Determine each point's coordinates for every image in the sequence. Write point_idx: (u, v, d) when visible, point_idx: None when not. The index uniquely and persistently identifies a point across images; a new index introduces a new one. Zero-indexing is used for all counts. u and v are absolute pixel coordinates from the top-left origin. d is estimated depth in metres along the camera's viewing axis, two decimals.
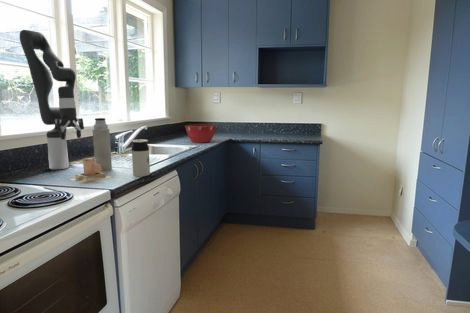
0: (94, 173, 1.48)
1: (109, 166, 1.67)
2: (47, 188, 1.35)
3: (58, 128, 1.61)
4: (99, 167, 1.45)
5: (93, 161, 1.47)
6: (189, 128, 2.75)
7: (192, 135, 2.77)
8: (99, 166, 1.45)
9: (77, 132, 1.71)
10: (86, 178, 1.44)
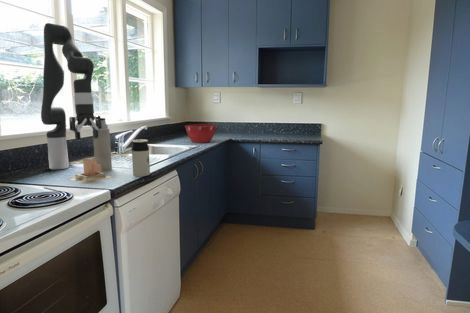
0: (94, 173, 1.48)
1: (109, 166, 1.67)
2: (47, 188, 1.35)
3: (73, 127, 1.40)
4: (99, 167, 1.45)
5: (93, 161, 1.47)
6: (189, 128, 2.75)
7: (192, 135, 2.77)
8: (99, 166, 1.45)
9: (94, 132, 1.50)
10: (86, 178, 1.44)
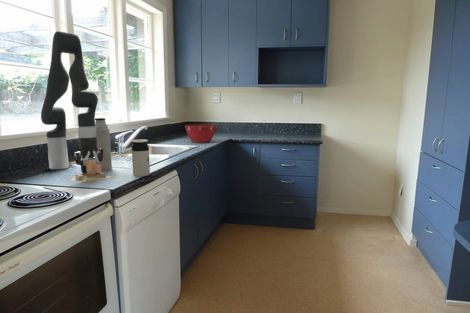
0: (94, 173, 1.48)
1: (109, 166, 1.67)
2: (47, 188, 1.35)
3: (80, 162, 1.43)
4: (99, 167, 1.45)
5: (93, 161, 1.47)
6: (189, 128, 2.75)
7: (192, 135, 2.77)
8: (99, 166, 1.45)
9: None
10: (86, 178, 1.44)
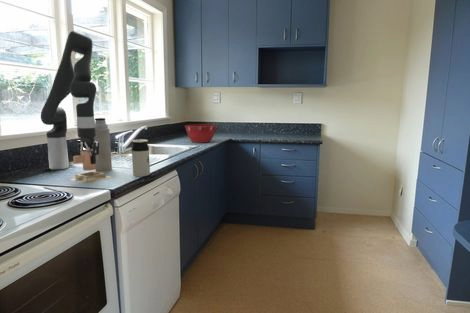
0: (83, 164, 1.46)
1: (109, 166, 1.67)
2: (47, 188, 1.35)
3: (78, 150, 1.50)
4: (74, 159, 1.42)
5: (82, 152, 1.45)
6: (189, 128, 2.75)
7: (192, 135, 2.77)
8: (74, 158, 1.42)
9: None
10: (86, 178, 1.44)
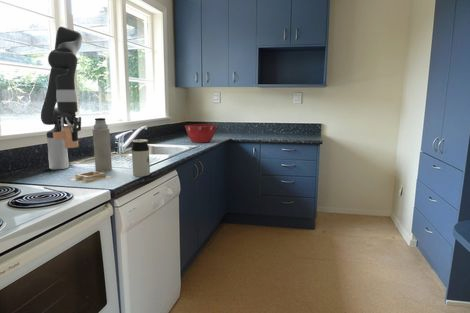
0: (65, 142, 1.36)
1: (109, 166, 1.67)
2: (47, 188, 1.35)
3: (59, 126, 1.39)
4: (54, 135, 1.32)
5: (63, 128, 1.35)
6: (189, 128, 2.75)
7: (192, 135, 2.77)
8: (54, 134, 1.32)
9: None
10: (86, 178, 1.44)
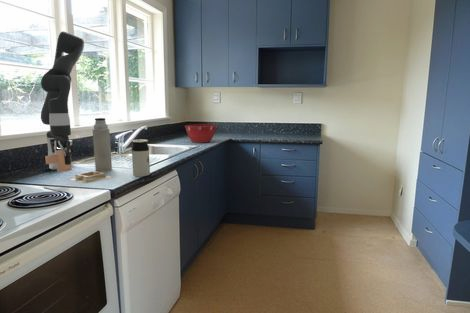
0: (57, 165, 1.35)
1: (109, 166, 1.67)
2: (47, 188, 1.35)
3: (52, 149, 1.38)
4: (46, 159, 1.31)
5: (56, 152, 1.34)
6: (189, 128, 2.75)
7: (192, 135, 2.77)
8: (46, 158, 1.31)
9: None
10: (86, 178, 1.44)
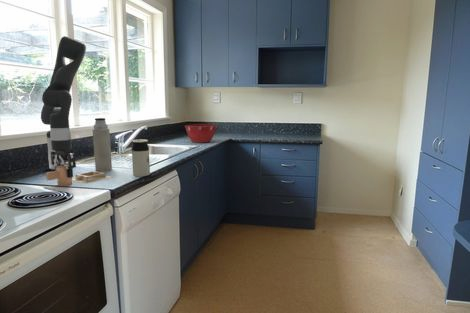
0: (58, 181, 1.36)
1: (109, 166, 1.67)
2: (47, 188, 1.35)
3: (52, 161, 1.39)
4: (47, 175, 1.32)
5: (57, 168, 1.35)
6: (189, 128, 2.75)
7: (192, 135, 2.77)
8: (47, 174, 1.32)
9: None
10: (86, 178, 1.44)
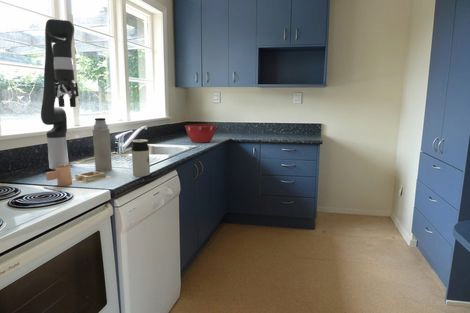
0: (58, 181, 1.36)
1: (109, 166, 1.67)
2: (47, 188, 1.35)
3: (55, 93, 1.43)
4: (47, 175, 1.32)
5: (56, 168, 1.35)
6: (189, 128, 2.75)
7: (192, 135, 2.77)
8: (47, 174, 1.32)
9: None
10: (86, 178, 1.44)
